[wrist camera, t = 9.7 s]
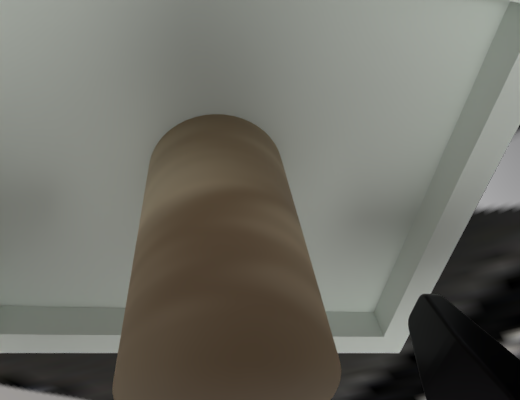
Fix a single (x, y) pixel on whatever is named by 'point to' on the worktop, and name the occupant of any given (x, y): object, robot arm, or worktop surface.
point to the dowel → (222, 277)
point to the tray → (265, 117)
